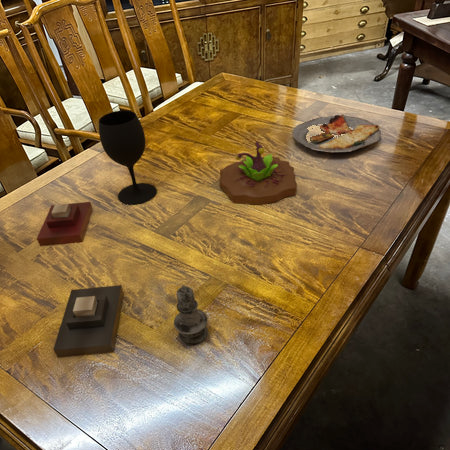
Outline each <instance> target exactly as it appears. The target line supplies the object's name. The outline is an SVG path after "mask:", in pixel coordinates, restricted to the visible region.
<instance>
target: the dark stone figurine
mask: <svg viewBox="0 0 450 450" xmlns="http://www.w3.org/2000/svg"><path fill="white" fill-rule="evenodd" d="M175 294H176V300H177V304H176V310H177V312H178V313H177V314H176V315H175V318H174V320H173V327H174V330H176V331H177V332H178V339H179V341H180V342H181V344H183V345H186V346H190V347H194V346H199V345H200V344H202V343H204V342H205V341H206V340H207V338H208V336H209V330H208V328H207V324H208V316H207V314H206V313H205V312H204V311H202V310H201V309H199V308H198V307H199V303H198V301H197V300H196V299H195V293H194V290H193V289H192V288H191V287H190V286H186V285H185V284H182V286H181V287H179V288H178V289H177V290H176V293H175Z"/></svg>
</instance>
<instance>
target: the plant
mask: <svg viewBox="0 0 450 450" xmlns="http://www.w3.org/2000/svg"><path fill="white" fill-rule="evenodd" d="M254 146H255V147H256V148H255V150H256V154H255V156H254V155H252V154H250V153H249V152H240V153H237V154H236V155H235V159H236V160H237V161H235V162H233V163H230V164H228V165H226V166H225V167H224V168H222V169H220V170H219V176H220V177H219V179H218V182H219V183H218V184H219V188H220V189H221V190H222V191H223V193H224V194H225V195H226V196H227V197H228V198H229V200H230V201H231V202H232V203H234V204H247V205H252V206H253V205H254V206H255V205H264V204H274V203H277V202H279V201H280V200H282V199H284V198H289V197H295V196H296V195H297V190H298V189H297V188H298V185H297V181H296V173H295V167H294V166H292V165H291V164H290V162H289V161H287V160H282V159H280V157H277V156H273V154H271V153H270V154H267V155H266V156H262V155H263V154H264V153H265V148H264V146H263V144H261V143H260V142H259V141H255V143H254ZM243 156H245V159H244V160H241V159H242V157H243Z"/></svg>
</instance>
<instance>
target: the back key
mask: <svg viewBox="0 0 450 450" xmlns="http://www.w3.org/2000/svg"><path fill="white" fill-rule="evenodd" d="M69 204H70V203H62V204H54V205H55V206H54V208H53V210H52V216H53V218H63V217H69V214H70V211H71V208H70V206H69Z"/></svg>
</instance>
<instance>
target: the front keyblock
mask: <svg viewBox="0 0 450 450" xmlns="http://www.w3.org/2000/svg"><path fill="white" fill-rule="evenodd" d="M90 296H95V297H96V300H97V302H98V304H97V308H96V312H95V316H85V317H76V316H75V314H74V312H73V309H74V305H75V302H76V298H79V297H90ZM124 296H125V292H124V289H123V286H122V284H119V285H108V286H98V287H87V288H76V289H75V288H74V289H71V290H70V292H69V297H68V300H67V303H66V306H65V310H64V313H63V317H62V320H61V323H60V326H59V329H58V332H57V336H56V340H55V342H54V346H53V349H52V350H53V353H55V355H56V357H57V358H64V357H65V358H66V357H77V356H86V355H97V354H109V353H115V347H116V342H117V337H118V331H119V324H120V318H121V313H122V307H123V302H124Z"/></svg>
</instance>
